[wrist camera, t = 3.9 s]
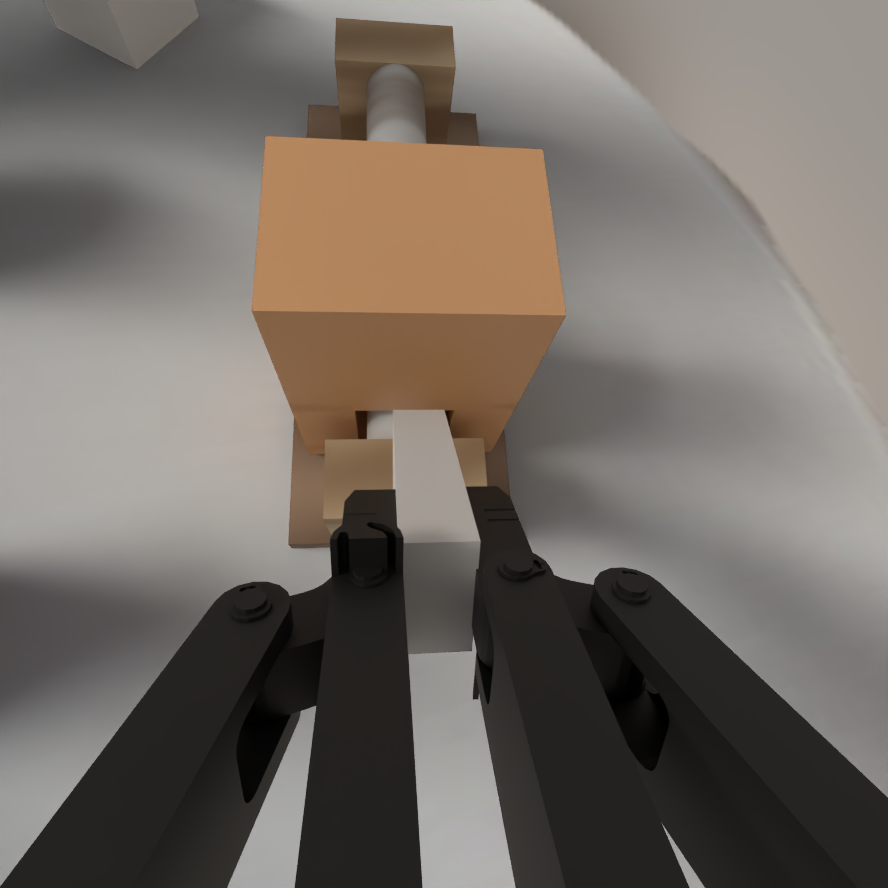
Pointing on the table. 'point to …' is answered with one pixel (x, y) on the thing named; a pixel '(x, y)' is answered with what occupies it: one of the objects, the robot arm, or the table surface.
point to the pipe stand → (387, 120)
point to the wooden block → (404, 281)
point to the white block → (124, 24)
